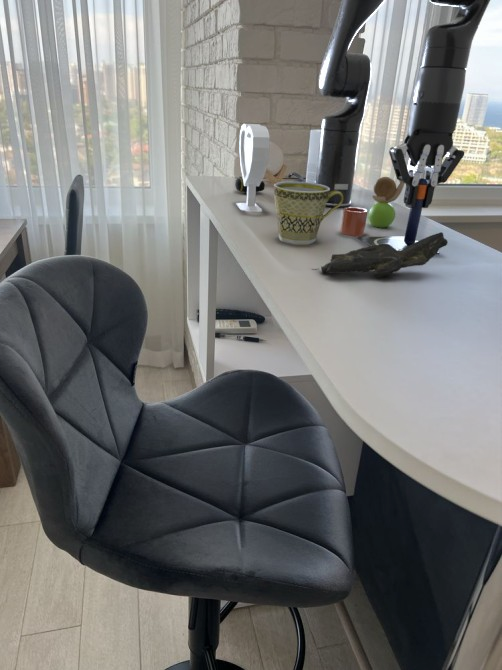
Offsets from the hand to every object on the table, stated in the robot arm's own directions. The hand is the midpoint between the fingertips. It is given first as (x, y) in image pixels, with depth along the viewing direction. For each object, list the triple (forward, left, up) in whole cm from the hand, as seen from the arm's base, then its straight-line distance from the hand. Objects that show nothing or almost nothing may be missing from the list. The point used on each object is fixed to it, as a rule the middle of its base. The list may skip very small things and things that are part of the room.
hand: (416, 206), depth 90 cm
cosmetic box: (-62, +6, -8) cm, 63 cm away
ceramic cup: (-6, -18, -8) cm, 21 cm away
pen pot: (-10, -7, -8) cm, 14 cm away
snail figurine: (-15, +2, -8) cm, 17 cm away
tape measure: (-53, -18, -8) cm, 57 cm away
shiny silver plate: (-1, -2, -8) cm, 8 cm away
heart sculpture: (-33, -22, -8) cm, 41 cm away
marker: (0, 0, -7) cm, 7 cm away
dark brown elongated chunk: (+13, -12, -8) cm, 19 cm away
